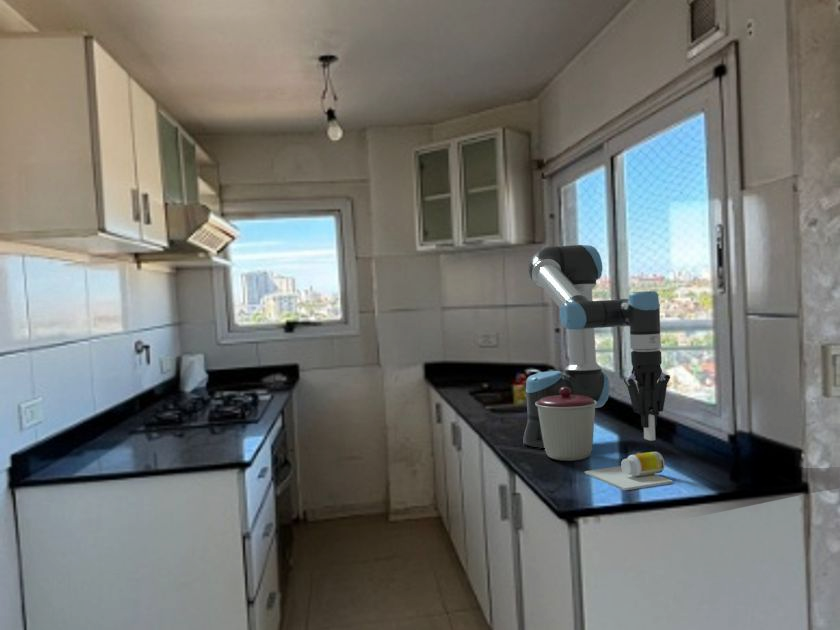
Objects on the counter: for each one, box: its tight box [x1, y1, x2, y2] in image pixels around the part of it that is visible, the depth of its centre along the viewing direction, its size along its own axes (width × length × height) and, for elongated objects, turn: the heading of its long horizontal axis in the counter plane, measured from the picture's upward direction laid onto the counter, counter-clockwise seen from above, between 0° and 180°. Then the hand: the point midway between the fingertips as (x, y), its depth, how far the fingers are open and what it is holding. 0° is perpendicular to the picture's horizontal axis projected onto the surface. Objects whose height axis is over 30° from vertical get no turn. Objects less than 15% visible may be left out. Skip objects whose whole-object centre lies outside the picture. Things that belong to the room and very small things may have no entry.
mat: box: [584, 465, 674, 492], centre depth 168 cm, size 18×14×1 cm
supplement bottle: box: [620, 451, 666, 477], centre depth 168 cm, size 6×6×10 cm
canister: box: [535, 387, 597, 462], centre depth 193 cm, size 18×18×21 cm
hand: (649, 439), depth 170 cm, fingers closed
